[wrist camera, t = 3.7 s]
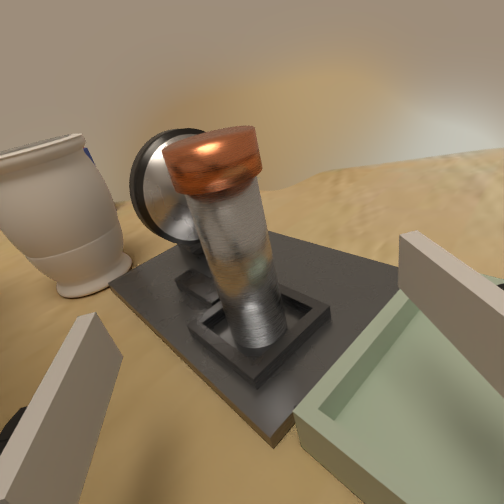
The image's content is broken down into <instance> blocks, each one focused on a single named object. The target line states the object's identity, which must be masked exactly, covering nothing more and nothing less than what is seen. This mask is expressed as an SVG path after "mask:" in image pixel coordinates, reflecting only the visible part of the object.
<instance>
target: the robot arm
mask: <svg viewBox="0 0 504 504" xmlns="http://www.w3.org/2000/svg"><path fill="white" fill-rule="evenodd" d="M398 287H399V288H400V289H401V290H402V291H403V292H404V293H405V295H406V296H407V297H408V298H409V299H410V300H411V301H412V302H413V303H414V304H415V305H416V306H417V307H418V308H419V309H420V310H421V311H422V313H423V314H424V315H425V316H426V317H427V318H428V319H429V320H430V321H431V322H432V323H433V324H434V325H435V326H436V327H437V328H438V329H439V331H440V332H441V333H442V334H443V335H444V336H445V337H446V338H447V339H448V340H449V341H450V342H451V343H452V344H453V345H454V346H455V347H456V349H457V350H458V351H459V352H460V353H461V354H462V355H463V356H464V357H465V358H466V359H467V360H468V361H469V362H470V363H471V364H472V365H473V367H474V368H475V369H476V370H477V371H478V372H479V373H480V374H481V375H482V376H483V377H484V378H485V379H486V380H487V381H488V382H489V383H490V385H491V386H492V387H493V388H494V389H495V390H496V391H497V392H498V393H499V394H500V395H501V396H502V397H503V398H504V283H503V284H499V285H495V284H494V283H492V282H491V281H489V280H488V279H486V278H485V277H484V276H482V275H481V274H479V273H478V272H476V271H475V270H474V269H472V268H471V267H469V266H468V265H466V264H465V263H463V262H462V261H461V260H459V259H458V258H456V257H455V256H453V255H452V254H450V253H449V252H448V251H446V250H445V249H443V248H442V247H440V246H439V245H438V244H436V243H435V242H433V241H432V240H430V239H429V238H427V237H426V236H425V235H423V234H422V233H420V232H419V231H417V230H416V231H412V232H408V233H404V234H400V235H399V267H398ZM122 359H123V356H122V354H121V352H120V351H119V349H118V348H117V346H116V344H115V343H114V341H113V339H112V338H111V336H110V335H109V333H108V331H107V330H106V328H105V326H104V325H103V323H102V322H101V320H100V318H99V317H98V315H97V313H96V312H94V313H90V314H86V315H82V316H78V317H77V319H76V321H75V322H74V324H73V326H72V328H71V330H70V331H69V333H68V335H67V337H66V339H65V340H64V342H63V344H62V346H61V348H60V349H59V351H58V353H57V355H56V356H55V358H54V360H53V362H52V364H51V365H50V367H49V369H48V371H47V373H46V374H45V376H44V378H43V380H42V382H41V383H40V385H39V387H38V389H37V391H36V392H35V394H34V396H33V398H32V400H31V401H30V403H29V405H28V406H27V407H23V408H20V409H19V411H18V412H17V413H16V414H15V415H14V416H13V417H12V418H11V419H10V421H9V422H8V423H7V424H6V425H5V427H4V429H3V430H2V432H1V434H0V504H78V502H79V499H80V495H81V492H82V489H83V486H84V482H85V479H86V476H87V473H88V469H89V466H90V463H91V460H92V456H93V453H94V450H95V447H96V443H97V440H98V437H99V434H100V430H101V427H102V424H103V421H104V417H105V414H106V411H107V408H108V404H109V401H110V398H111V395H112V391H113V388H114V385H115V382H116V378H117V375H118V372H119V369H120V365H121V362H122Z"/></svg>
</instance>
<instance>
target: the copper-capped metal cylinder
mask: <svg viewBox="0 0 504 504" xmlns="http://www.w3.org/2000/svg"><path fill="white" fill-rule="evenodd" d="M161 152H162V155H163V158H164V161H165V164H166V166H167V169H168V172H169V175H170V178H171V181H172V184H173V186H174V189H175V191H176V192H177V193H180V194H184V195H185V198H186V201H187V204H188V206H189V209H190V212H191V215H192V218H193V221H194V224H195V227H196V230H197V233H198V236H199V239H200V242H201V245H202V248H203V251H204V254H205V257H206V260H207V263H208V266H209V269H210V272H211V275H212V278H213V281H214V284H215V287H216V290H217V293H218V296H219V299H220V302H221V305H222V308H223V310H224V313H225V316H226V319H227V322H228V325H229V328H230V331H231V334H232V337H233V339H234V340H235V342H236V343H238V344H239V345H241V346H243V347H247V348H261V347H265V346H268V345H270V344H272V343H274V342H275V341H277V340H278V339H279V338H280V337H281V336H282V335H283V333H284V332H285V329H286V325H287V322H286V317H285V312H284V307H283V302H282V298H281V293H280V288H279V283H278V278H277V273H276V269H275V264H274V259H273V254H272V249H271V244H270V240H269V235H268V230H267V225H266V220H265V215H264V210H263V206H262V201H261V196H260V191H259V186H258V181H257V177H256V176H257V175H258V174H259V173H260V172H261V170H262V163H261V158H260V154H259V148H258V143H257V138H256V133H255V128H254V127H253V126H236V127H230V128H223V129H218V130H214V131H210V132H205V133H202V134H198V135H194V136H191V137H188V138H185V139H182V140H179V141H177V142H174V143H172V144H170V145H168V146H166V147H164V148H163V149H162V150H161Z"/></svg>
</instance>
